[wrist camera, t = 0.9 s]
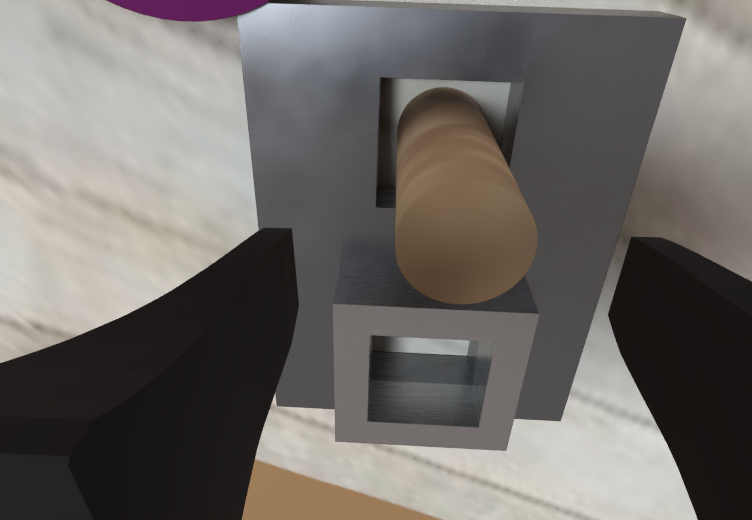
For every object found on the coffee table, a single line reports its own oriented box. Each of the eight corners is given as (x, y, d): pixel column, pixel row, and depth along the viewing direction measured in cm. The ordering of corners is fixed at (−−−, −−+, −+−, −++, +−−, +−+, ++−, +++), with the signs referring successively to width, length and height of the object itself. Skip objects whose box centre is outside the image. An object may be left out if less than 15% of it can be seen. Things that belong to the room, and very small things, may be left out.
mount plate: (658, 11, 18) (730, 29, 14) (550, 390, 27) (575, 464, 23) (251, -4, 18) (210, 10, 14) (284, 377, 27) (265, 448, 23)
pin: (490, 89, 19) (551, 184, 11) (478, 175, 21) (524, 307, 13) (399, 85, 19) (398, 177, 12) (395, 171, 21) (391, 300, 13)
